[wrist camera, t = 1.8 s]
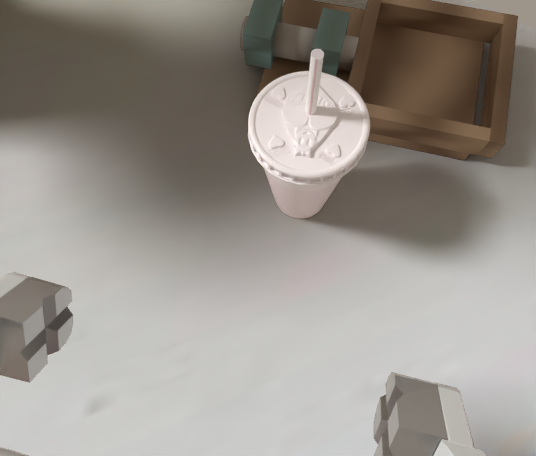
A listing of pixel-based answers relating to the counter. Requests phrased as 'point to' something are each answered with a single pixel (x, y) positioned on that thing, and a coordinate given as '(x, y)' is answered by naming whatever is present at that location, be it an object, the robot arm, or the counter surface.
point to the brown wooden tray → (398, 65)
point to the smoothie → (307, 136)
